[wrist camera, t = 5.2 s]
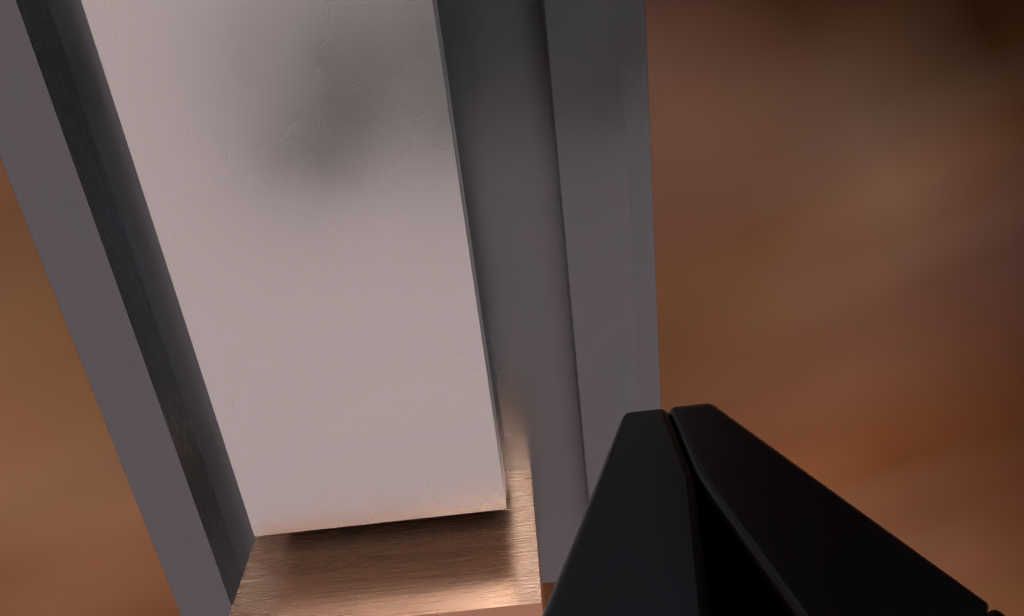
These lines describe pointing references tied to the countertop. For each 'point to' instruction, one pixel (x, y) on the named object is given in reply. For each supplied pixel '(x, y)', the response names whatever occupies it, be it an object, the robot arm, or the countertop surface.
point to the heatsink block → (502, 290)
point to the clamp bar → (315, 248)
